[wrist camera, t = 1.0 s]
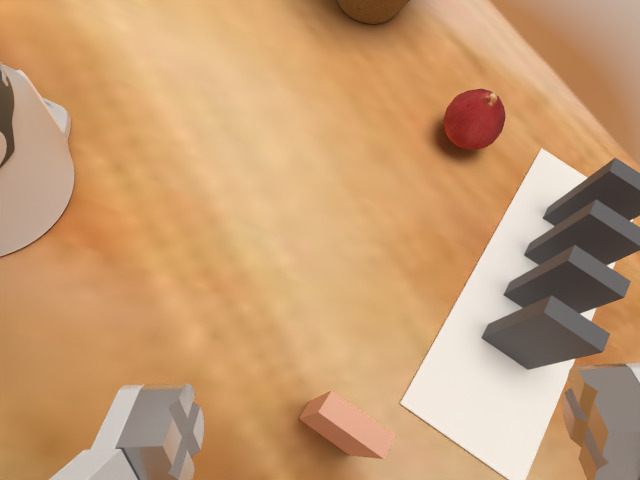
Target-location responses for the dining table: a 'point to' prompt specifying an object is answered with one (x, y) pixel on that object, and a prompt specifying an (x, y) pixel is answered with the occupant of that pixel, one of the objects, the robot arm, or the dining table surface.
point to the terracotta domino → (347, 426)
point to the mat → (484, 359)
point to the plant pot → (371, 9)
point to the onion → (474, 119)
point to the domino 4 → (545, 334)
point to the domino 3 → (569, 282)
